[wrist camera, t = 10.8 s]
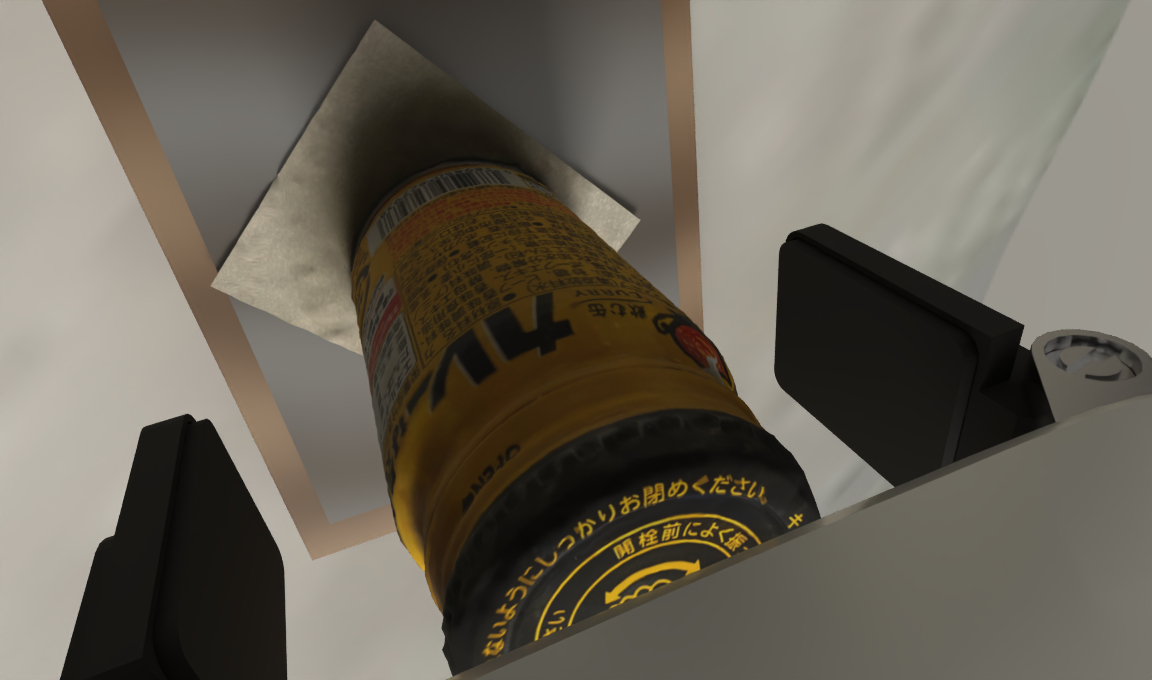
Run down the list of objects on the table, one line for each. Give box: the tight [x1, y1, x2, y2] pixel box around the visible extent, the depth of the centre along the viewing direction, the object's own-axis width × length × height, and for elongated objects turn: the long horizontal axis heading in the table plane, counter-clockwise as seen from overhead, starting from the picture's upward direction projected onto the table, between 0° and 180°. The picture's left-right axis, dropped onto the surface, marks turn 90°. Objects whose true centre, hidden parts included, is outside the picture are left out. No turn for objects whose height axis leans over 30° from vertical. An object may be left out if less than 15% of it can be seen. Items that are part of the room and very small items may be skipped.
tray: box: [42, 0, 704, 560], centre depth 20 cm, size 18×14×3 cm
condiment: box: [211, 20, 821, 676], centre depth 13 cm, size 7×8×12 cm
